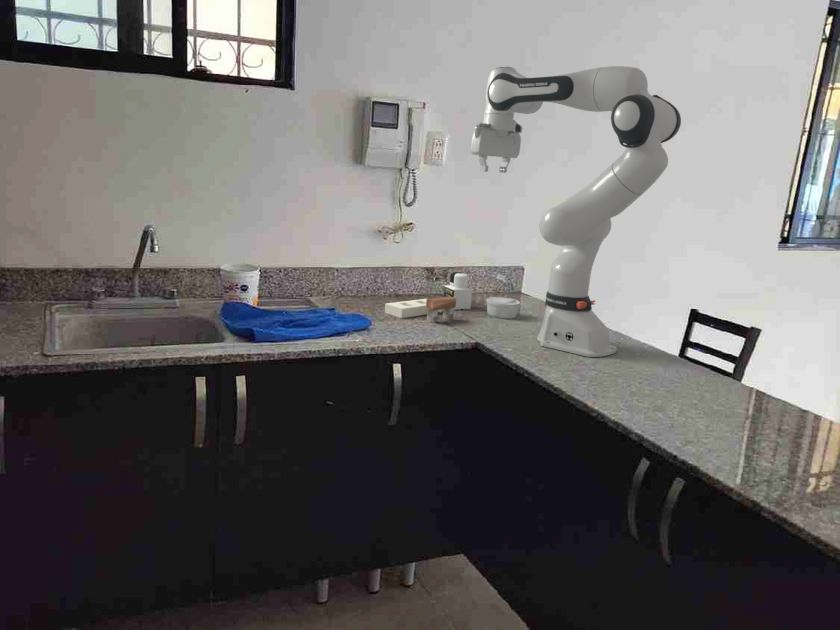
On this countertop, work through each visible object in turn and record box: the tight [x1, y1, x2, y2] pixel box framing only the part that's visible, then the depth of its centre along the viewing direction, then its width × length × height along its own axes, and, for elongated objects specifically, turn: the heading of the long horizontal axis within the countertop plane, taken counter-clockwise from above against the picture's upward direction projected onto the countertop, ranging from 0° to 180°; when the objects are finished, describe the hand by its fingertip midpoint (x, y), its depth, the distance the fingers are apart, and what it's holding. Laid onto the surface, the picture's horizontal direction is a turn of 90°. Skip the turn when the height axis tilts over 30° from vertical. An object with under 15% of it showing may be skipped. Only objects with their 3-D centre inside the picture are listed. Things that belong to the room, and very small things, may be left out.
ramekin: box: [486, 296, 521, 320], centre depth 220 cm, size 11×11×5 cm
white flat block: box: [384, 298, 443, 319], centre depth 216 cm, size 8×18×3 cm, turn 133°
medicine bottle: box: [443, 271, 473, 311], centre depth 227 cm, size 7×7×12 cm
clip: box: [426, 296, 456, 324], centre depth 207 cm, size 3×10×7 cm, turn 133°
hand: (493, 172), depth 203 cm, fingers open, 8 cm apart
